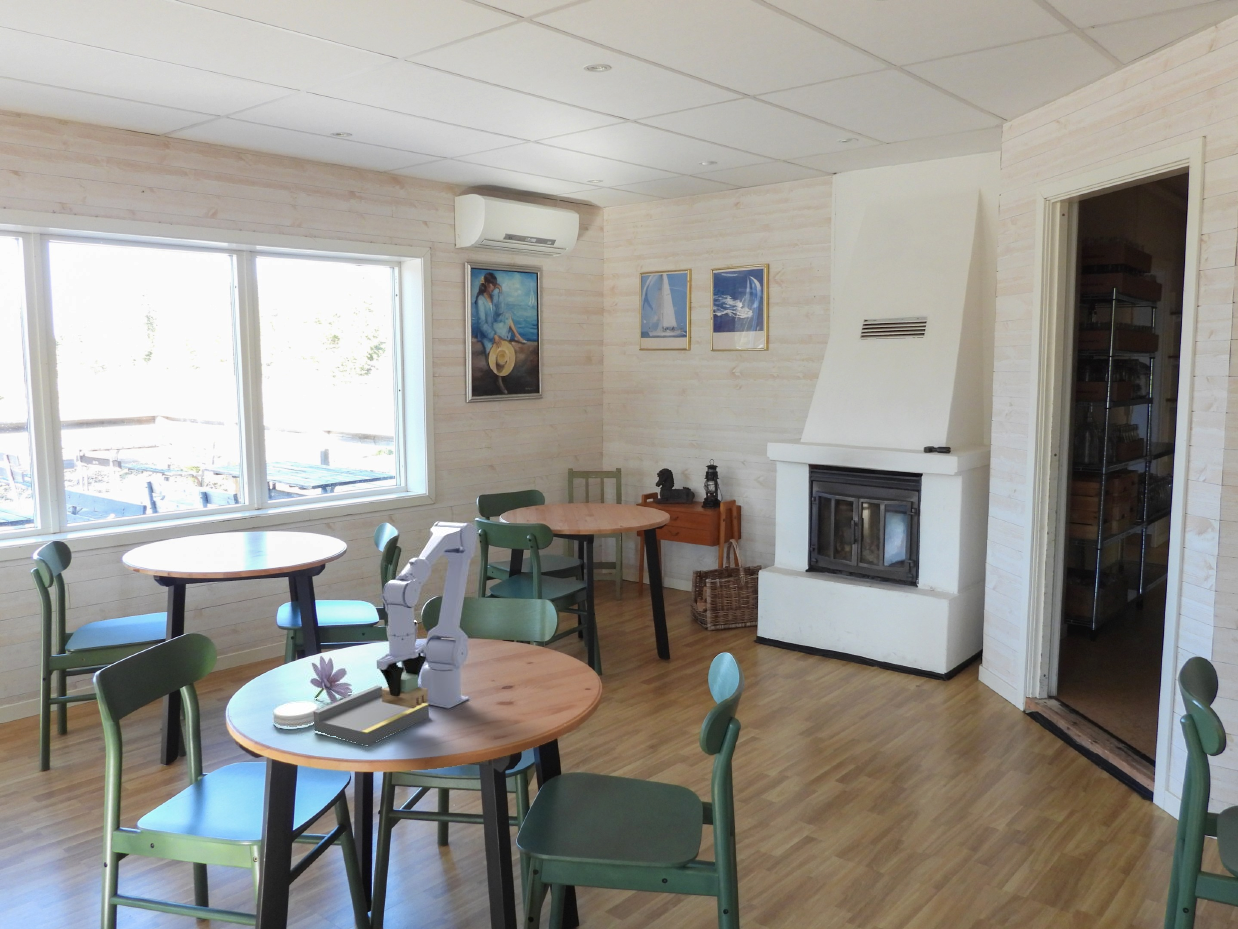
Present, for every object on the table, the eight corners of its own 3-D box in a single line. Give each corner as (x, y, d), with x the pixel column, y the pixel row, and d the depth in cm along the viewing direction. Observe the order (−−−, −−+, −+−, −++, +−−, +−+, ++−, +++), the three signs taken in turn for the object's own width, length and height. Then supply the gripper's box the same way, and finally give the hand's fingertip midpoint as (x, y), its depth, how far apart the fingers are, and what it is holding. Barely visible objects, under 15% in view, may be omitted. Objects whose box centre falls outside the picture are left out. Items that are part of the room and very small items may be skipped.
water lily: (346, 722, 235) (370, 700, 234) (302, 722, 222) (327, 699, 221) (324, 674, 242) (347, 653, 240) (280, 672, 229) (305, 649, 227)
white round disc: (266, 722, 217) (265, 708, 217) (307, 712, 224) (306, 697, 224) (285, 734, 210) (284, 719, 210) (327, 722, 217) (326, 708, 217)
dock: (314, 733, 210) (313, 711, 210) (377, 705, 227) (377, 685, 227) (367, 746, 202) (366, 724, 202) (429, 716, 220) (428, 696, 219)
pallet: (382, 702, 212) (381, 689, 212) (397, 695, 217) (396, 682, 216) (412, 708, 208) (412, 695, 208) (427, 701, 212) (427, 688, 212)
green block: (392, 690, 211) (392, 677, 211) (404, 685, 215) (404, 672, 214) (406, 693, 209) (405, 680, 209) (418, 687, 213) (417, 675, 212)
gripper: (393, 643, 203) (395, 704, 204) (436, 627, 215) (438, 685, 217) (368, 639, 206) (370, 699, 207) (412, 623, 219) (414, 680, 220)
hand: (403, 691), depth 212 cm, fingers closed on pallet, 5 cm apart
